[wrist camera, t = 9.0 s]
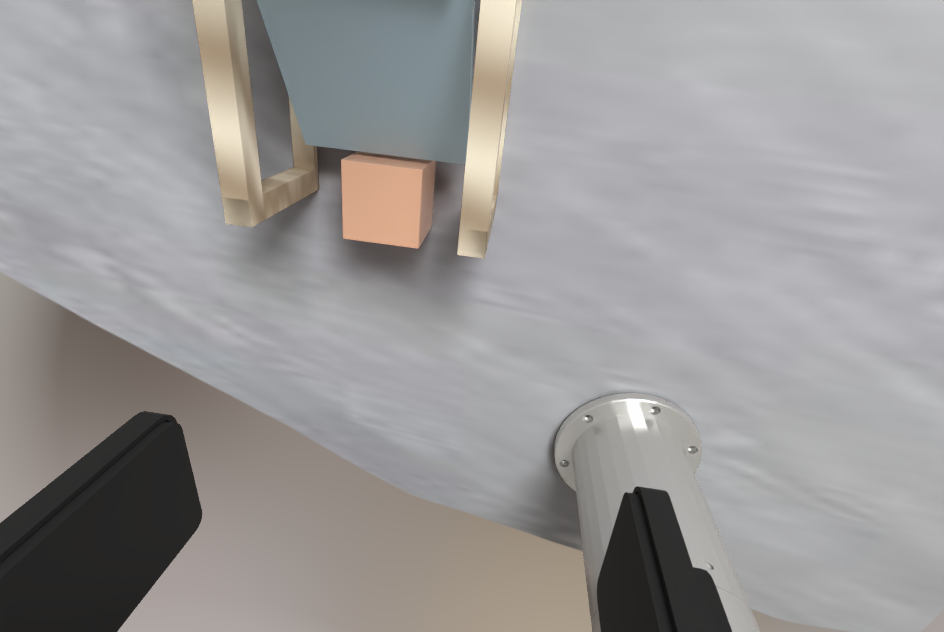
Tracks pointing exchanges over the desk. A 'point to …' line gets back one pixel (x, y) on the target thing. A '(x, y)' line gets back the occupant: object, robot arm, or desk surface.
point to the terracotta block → (387, 198)
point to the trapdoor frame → (263, 199)
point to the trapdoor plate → (378, 73)
